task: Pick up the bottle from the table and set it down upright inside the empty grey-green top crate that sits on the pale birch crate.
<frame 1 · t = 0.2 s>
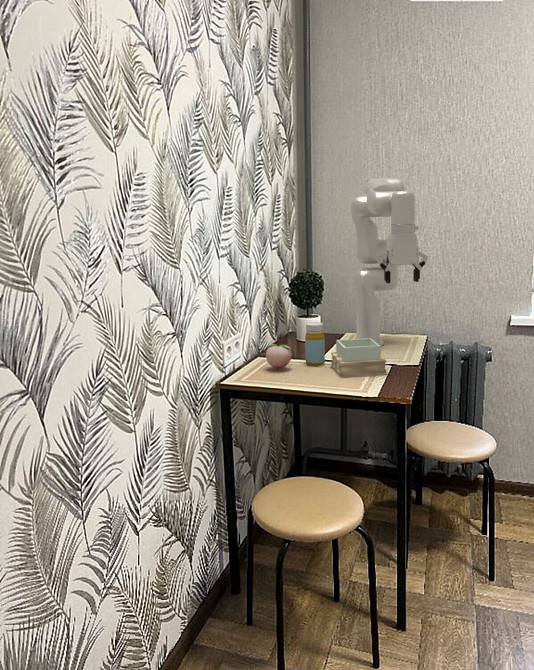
hand: (402, 282, 204), 31 cm above the table, tool pointing down, fingers open, 9 cm apart
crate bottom: (357, 370, 215), on the table
decorative fruit: (278, 370, 219), on the table
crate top: (357, 349, 214), on the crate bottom, point 7 cm above the table
bottle: (315, 364, 226), on the table
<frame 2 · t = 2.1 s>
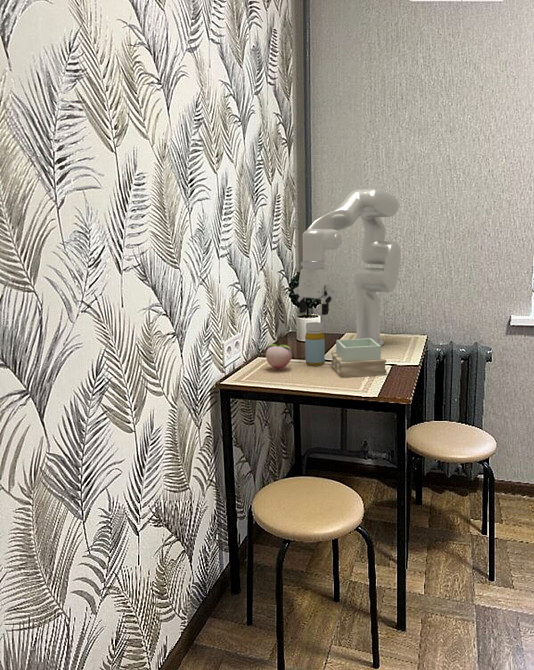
hand: (313, 313, 222), 19 cm above the table, tool pointing down, fingers open, 9 cm apart
nothing on the table moved.
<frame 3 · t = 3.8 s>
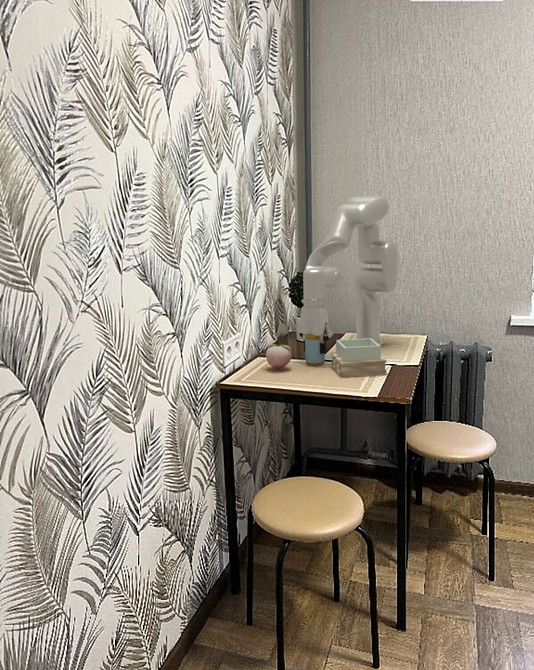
hand: (314, 351, 225), 5 cm above the table, tool pointing down, fingers closed on bottle, 6 cm apart
bottle: (315, 364, 226), on the table, touching gripper
everything else where it was.
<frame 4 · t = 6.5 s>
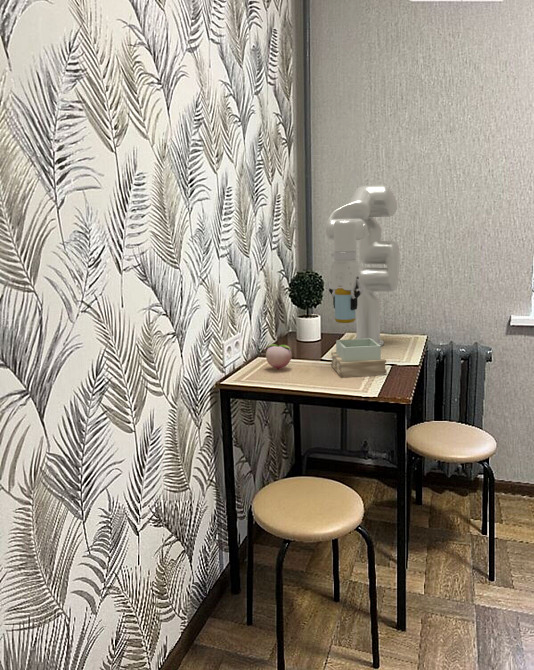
hand: (345, 308, 214), 22 cm above the table, tool pointing down, fingers closed on bottle, 6 cm apart
bottle: (345, 321, 215), point 17 cm above the table, touching gripper
everything else where it was.
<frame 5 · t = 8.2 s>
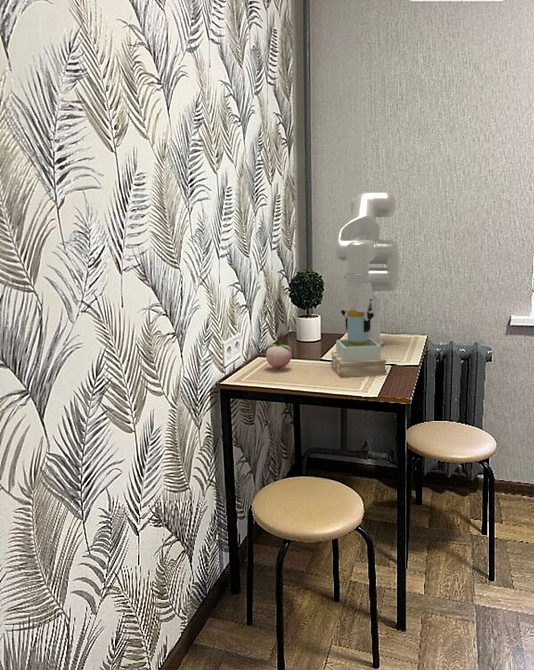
hand: (357, 330, 212), 14 cm above the table, tool pointing down, fingers closed on bottle, 6 cm apart
bottle: (357, 343, 213), point 10 cm above the table, touching gripper
everything else where it was.
when the fingers open (11 cm above the table, at t = 9.3 s): bottle stays where it is, resting on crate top.
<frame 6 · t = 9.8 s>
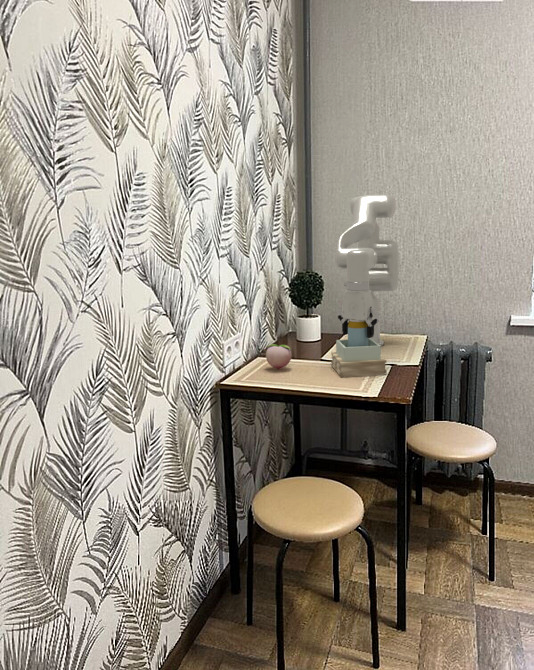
hand: (357, 335, 213), 12 cm above the table, tool pointing down, fingers open, 9 cm apart
bottle: (358, 354, 214), point 6 cm above the table, touching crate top
everything else where it was.
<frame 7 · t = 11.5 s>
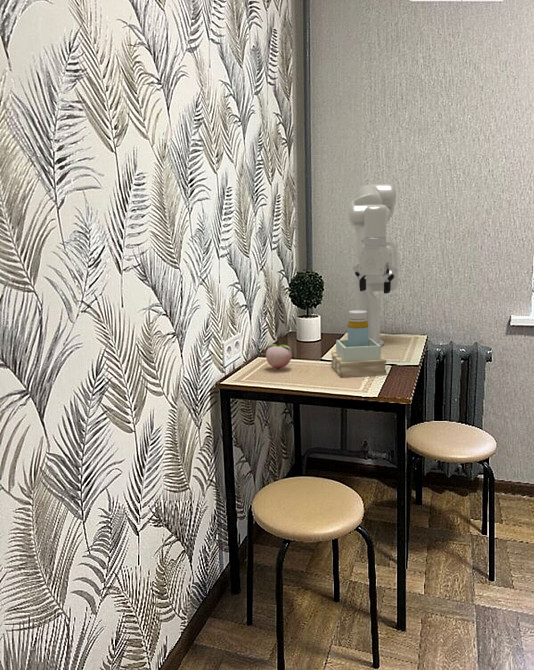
hand: (374, 291, 216), 27 cm above the table, tool pointing down, fingers open, 9 cm apart
nothing on the table moved.
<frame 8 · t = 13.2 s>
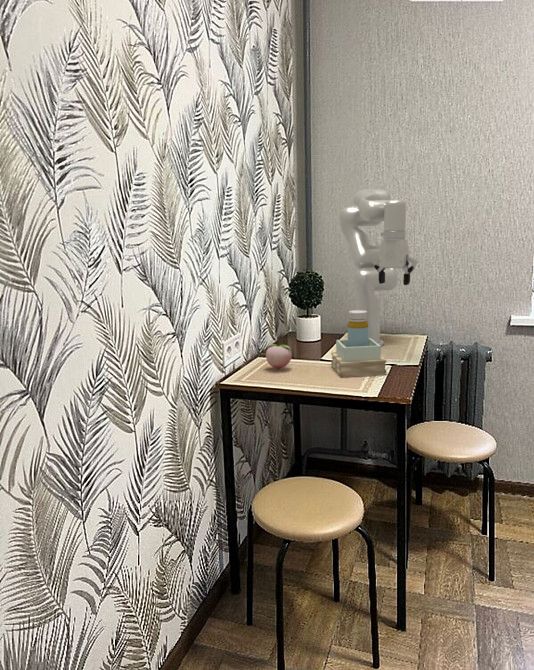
hand: (394, 283, 222), 28 cm above the table, tool pointing down, fingers open, 9 cm apart
nothing on the table moved.
at the end: bottle inside the target area on the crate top (0.1 cm from its centre), point 5.6 cm above the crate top's base; bottle tilted 0°; the gripper is holding nothing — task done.
